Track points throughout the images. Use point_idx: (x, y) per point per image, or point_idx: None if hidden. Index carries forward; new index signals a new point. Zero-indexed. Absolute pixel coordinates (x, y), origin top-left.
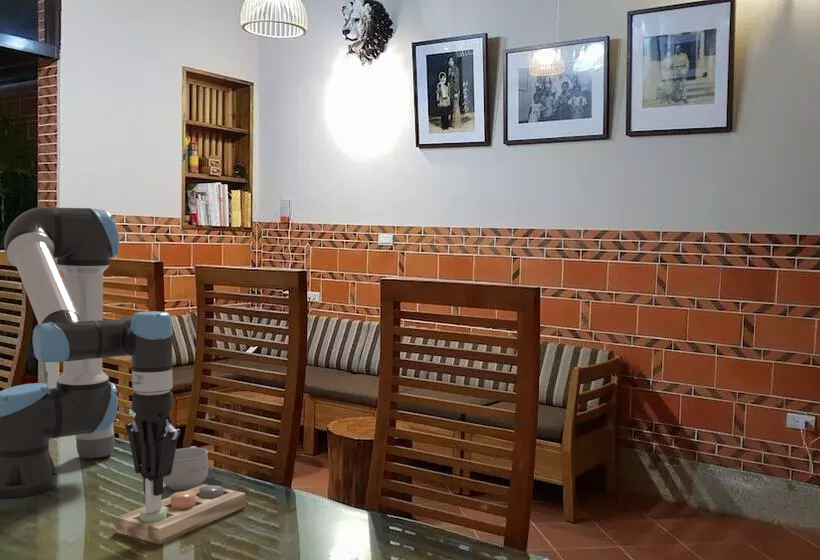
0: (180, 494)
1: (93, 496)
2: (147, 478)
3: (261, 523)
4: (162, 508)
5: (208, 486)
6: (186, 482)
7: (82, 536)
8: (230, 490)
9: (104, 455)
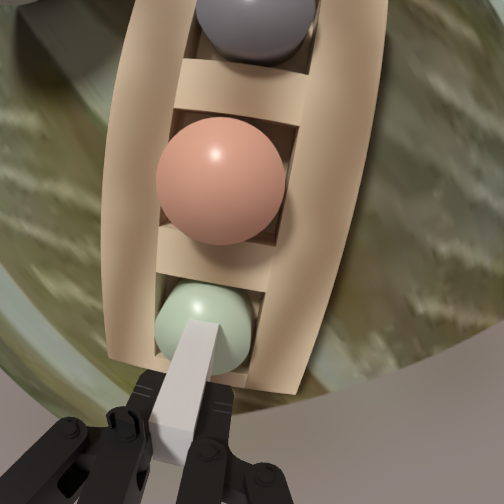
0: (198, 182)
1: None
2: (154, 453)
3: (486, 137)
4: (209, 305)
5: None
6: None
7: (86, 363)
8: None
9: None
